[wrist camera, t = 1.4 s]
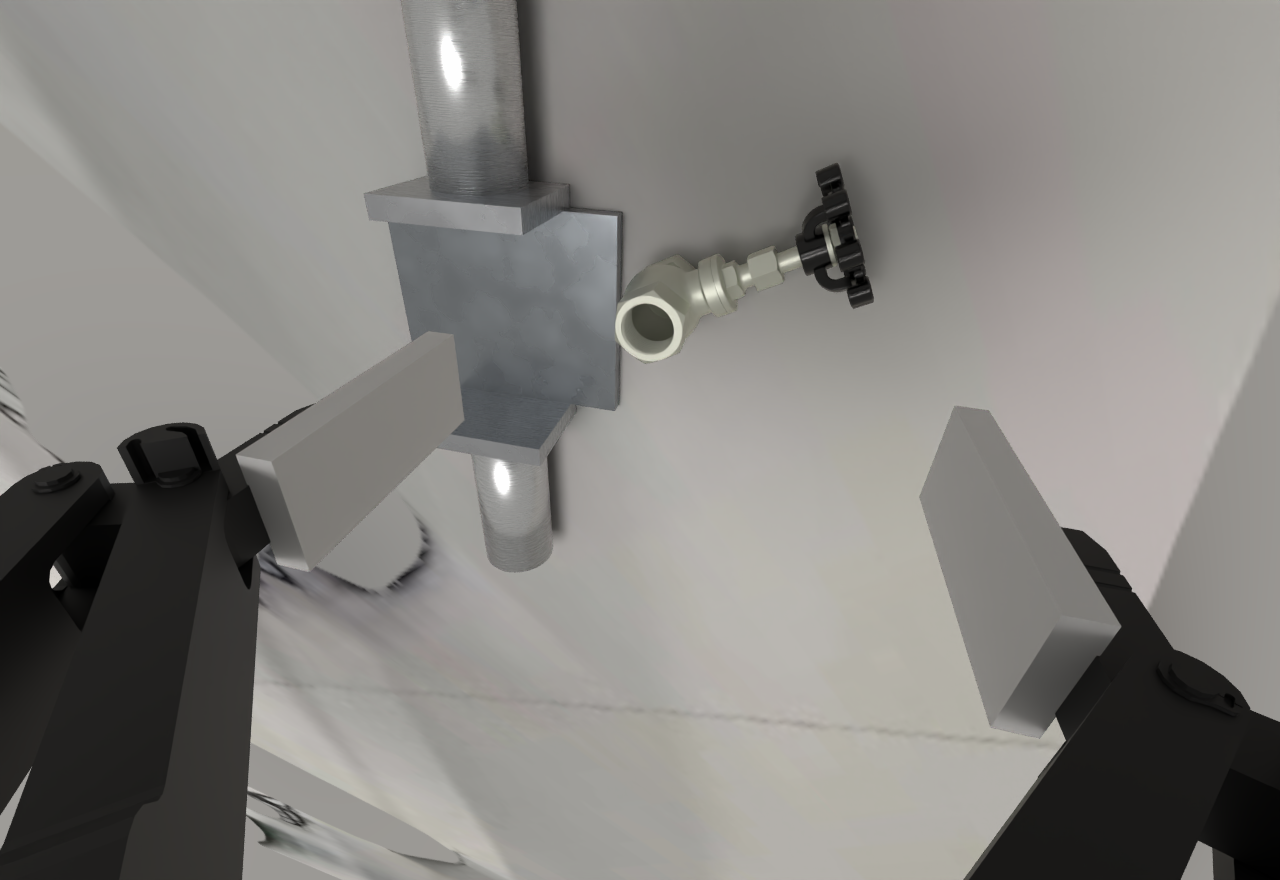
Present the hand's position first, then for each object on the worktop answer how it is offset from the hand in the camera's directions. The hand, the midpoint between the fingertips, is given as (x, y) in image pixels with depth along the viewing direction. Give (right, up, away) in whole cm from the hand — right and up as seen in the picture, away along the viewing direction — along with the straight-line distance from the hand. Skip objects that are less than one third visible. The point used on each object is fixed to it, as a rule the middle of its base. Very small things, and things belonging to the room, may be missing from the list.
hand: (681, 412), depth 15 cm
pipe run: (-9, +8, +20) cm, 24 cm away
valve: (+4, +9, +16) cm, 19 cm away
